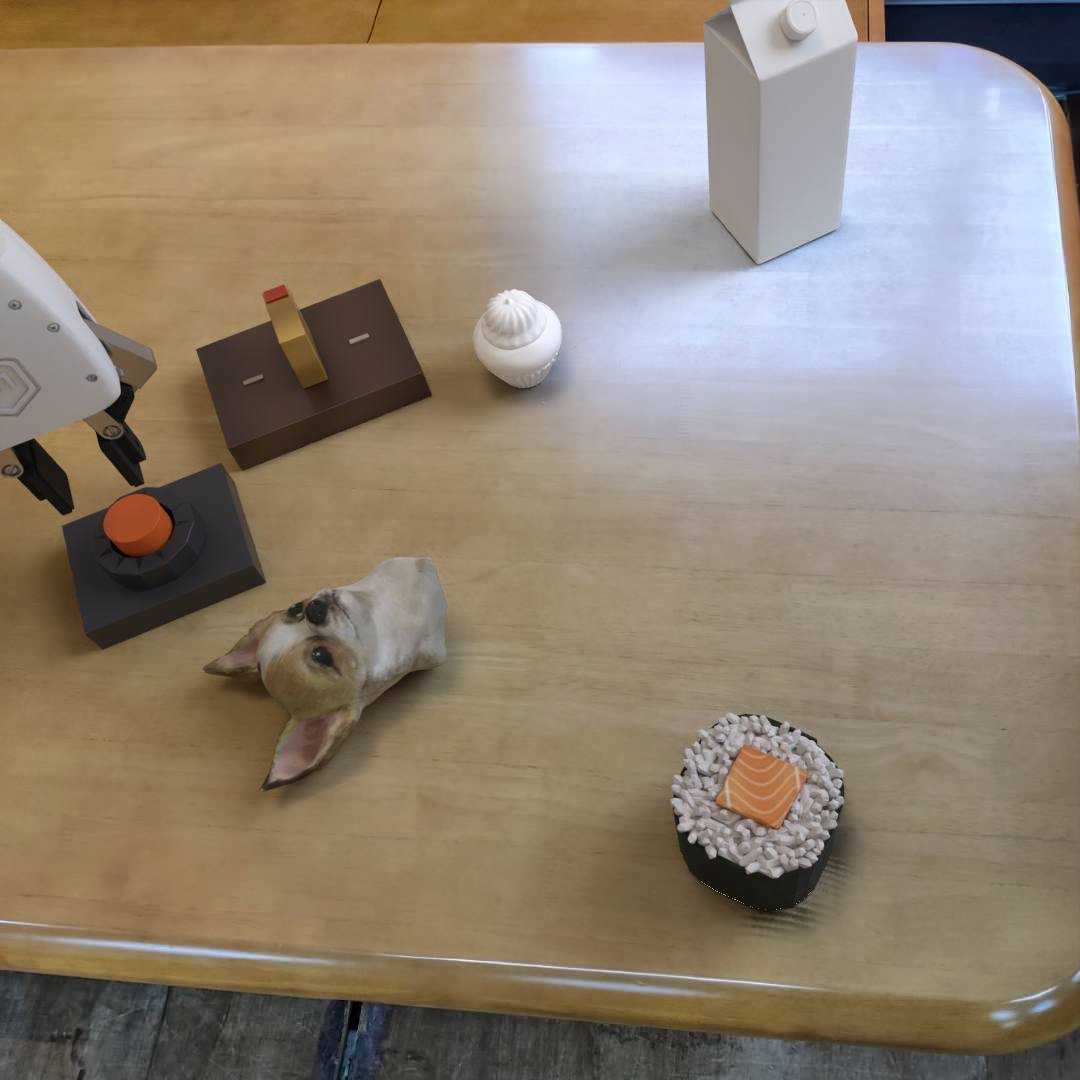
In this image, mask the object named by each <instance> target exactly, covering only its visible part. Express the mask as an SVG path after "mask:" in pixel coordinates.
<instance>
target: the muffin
mask: <svg viewBox="0 0 1080 1080" xmlns="http://www.w3.org/2000/svg"><path fill="white" fill-rule="evenodd" d="M484 309H485V312H483V314H482V315H481V316H480V317H479V319H478V320H477V323H476V324H475V327H474V329H473V333H472V346H473V350H474V352H475V354H476V357H477V358H478V360H479V361H480V362H481V363H482V365H484V367H486V368H487V371H489V372H490V373H492V374H493V375H494V376H496V377H497V378H499V379H500V380H502V381H503V382H505V383H506V384H508V385H509V386H512V387H514V388H518V389H529V388H533V387H534V386H538V384H542V382H544V380H545V379H546V378H547V376H548V375H549V373H550V371H551V370H552V367H553V365H554V363H555V361H556V360H557V358H558V356H559V352H560V347H561V345H562V341H563V329H562V325H561V322H560V319H559V317H558V315H557V313H556V312H555V311H554V310H553V309H552V308H551V307H550V306H548V305H547V304H546V303H544V302H542V301H539V300H537V299H535V298H534V297H533V296H531V295H530V294H528V293H527V291H524V290H518V289H515V288H513V289H511V290H507V289H504V290H503V291H502V292H501V293H500V292H498V293H496V294H495V297H490V299H489V303H488V304H487V305H485V307H484Z"/></svg>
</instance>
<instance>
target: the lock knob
mask: <svg viewBox="0 0 1080 1080" xmlns="http://www.w3.org/2000/svg"><path fill="white" fill-rule="evenodd" d="M261 296H262V299H263V303H264V305H265V307H266V311H267V313H268V316H269V318H270V321H271V322H272V324H273V327H274V330H275V333H276V336H277V338H278V341H279V344H280V346H281V348H282V349H283V351H284V353H285V355H286V357H287V359H288V361H289V363H290V365H291V366H292V368H293V370H294V372H295V374H296V376H297V378H298V380H299V381H300V383H301V385H302V387H303V388H304V389H305V388H307V387H310V386H312V385H315V384H318V383H320V382H323V381H326V380H328V378H327V375H326V372H325V370H324V367H323V364H322V362H321V359H320V357H319V354H318V351H317V349H316V346H315V343H314V341H313V338H312V335H311V333H310V330H309V328H308V326H307V324H306V322H305V320H304V318H303V316H302V314H301V312H300V308H299V305H298V304H297V302H296V300H295V298H294V296H293V294H292V292H291V290H290V288H289V286H288V284H281V285H277V286H275V287H273V288H271V289H267V290H265V291H262V293H261Z"/></svg>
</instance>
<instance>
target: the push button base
mask: <svg viewBox="0 0 1080 1080" xmlns="http://www.w3.org/2000/svg"><path fill="white" fill-rule="evenodd" d="M135 494H144V495H148V496H151V497H153V498H154V499H155V500H156V501H157V502H158V503H159V504H160V506H161V507H162V508H163V509H164V511H165V512H166V513H167V514H168V515H169V517H170V518H171V520H172V524H173V529H172V534H171V536H170V538H169V540H168V541H167V542H166V543H165V544H164V545H163V546H162V547H161V548H160V549H159V550H158V551H156V552H154V553H152V554H149V555H147V556H144V557H132V556H128V555H126V554H124V553H123V552H122V551H121V550H120V549H119V548H118V547H117V546H116V545H115V544H114V543H113V542H112V541H111V540H110V538H109V537H108V536H107V535H106V533H105V531H104V527H103V523H104V518H105V516H106V514H107V512H108V510H109V509H110V508H111V507H112V506H113V505H114V504H115V503H116V502H118V501H119V500H121V499H123V498H125V497H127V496H130V495H135ZM61 529H62V534H63V538H64V544H65V547H66V553H67V558H68V562H69V566H70V572H71V577H72V581H73V585H74V590H75V595H76V599H77V605H78V608H79V613H80V619H81V623H82V628H83V633H84V635H85V636H86V637H88V638H89V639H90V640H91V641H92V642H93V643H95V645H97V646H98V647H99V648H100V649H101V650H102V651H103V650H107V648H110V647H111V648H112V647H113V646H116V645H118V644H120V643H124V642H125V641H128V640H130V639H132V638H135V637H137V636H140V635H142V634H144V633H147V632H149V631H152V630H155V629H156V628H159V627H162V626H164V625H166V624H169V623H171V622H173V621H176V620H179V619H181V618H183V617H186V616H188V615H191V614H193V613H196V612H198V611H201V610H203V609H205V608H208V607H210V606H212V605H214V604H215V605H216V604H218V603H220V602H223V601H225V600H227V599H229V598H233V597H235V596H237V595H239V594H242V593H244V592H247V591H250V590H251V589H254V588H256V587H259V586H262V585H265V584H267V579H266V576H265V573H264V570H263V566H262V564H261V561H260V558H259V554H258V552H257V551H258V550H257V548H256V545H255V542H254V539H253V536H252V532H251V529H250V527H249V524H248V520H247V517H246V514H245V510H244V508H243V505H242V502H241V498H240V495H239V493H238V489H237V486H236V482H235V480H234V479H233V478H232V476H231V475H230V474H229V472H228V470H227V469H226V467H225V466H224V465H223V463H222V462H220V463H217V464H214V465H211V466H208V467H207V468H204V469H201V470H199V471H196V472H195V473H191V474H188V475H187V476H184V477H181V478H179V479H176V480H174V481H171V482H169V483H166V484H164V485H162V486H159V487H156V486H144V487H141V488H139V489H136V490H134V491H131V492H129V493H127V494H124V495H121V496H119V497H118V498H117V499H115V501H113V503H112V504H110V505H109V506H108V507H106V508H103V509H101V510H98V511H96V512H93V513H90V514H88V515H85V516H83V517H79V518H77V519H75V520H73V521H70V522H68V523H65V524H62V525H61Z"/></svg>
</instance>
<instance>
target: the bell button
mask: <svg viewBox="0 0 1080 1080" xmlns="http://www.w3.org/2000/svg"><path fill="white" fill-rule="evenodd" d="M103 527H104V531H105V533H106V535H107V536H108V537H109V538H110V540H111V541H112V542H113V543H114V544H115V545H116V546H117V547H118V548H119V549H120V550H121V551H122V552H123V553H124V554H126V555H128V556H132V557H144V556H147V555H149V554H152V553H154V552H156V551H158V550H159V549H160V548H161V547H162V546H163V545H164V544H165V543H166V542H167V541H168V540H169V538H170V536H171V534H172V529H173V524H172V520H171V518H170V517H169V515H168V514H167V513H166V512H165V511H164V509H163V508H162V507H161V506H160V504H159V503H158V502H157V501H156V500H155V499H154V498H153V497H151V496H148V495H144V494H135V495H130V496H127V497H125V498H123V499H121V500H119V501H118V502H116V503H115V504H114V505H113V506H112V507H111V508H110V509H109V510H108V512H107V514H106V516H105V518H104V523H103Z"/></svg>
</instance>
